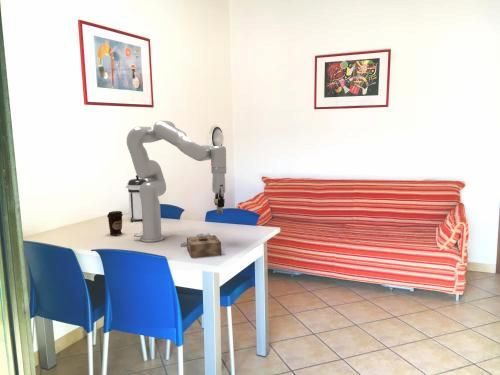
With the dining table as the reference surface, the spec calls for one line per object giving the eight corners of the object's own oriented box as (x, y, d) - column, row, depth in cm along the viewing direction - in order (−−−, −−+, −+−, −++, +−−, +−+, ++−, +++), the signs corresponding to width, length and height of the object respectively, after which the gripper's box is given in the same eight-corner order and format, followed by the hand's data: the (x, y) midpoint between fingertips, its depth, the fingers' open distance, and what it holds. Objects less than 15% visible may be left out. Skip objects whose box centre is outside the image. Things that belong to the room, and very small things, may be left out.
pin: (215, 214, 204) (215, 200, 203) (213, 212, 210) (212, 198, 209) (226, 214, 206) (226, 199, 205) (223, 212, 211) (223, 197, 210)
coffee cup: (127, 233, 232) (126, 211, 231) (117, 236, 225) (115, 213, 223) (115, 232, 236) (114, 210, 235) (105, 235, 229) (103, 212, 227)
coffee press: (139, 223, 259) (137, 176, 255) (122, 220, 268) (120, 175, 264) (159, 218, 273) (157, 174, 270) (143, 216, 282) (141, 173, 278)
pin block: (191, 257, 185) (190, 244, 184) (187, 249, 198) (186, 237, 197) (221, 254, 189) (221, 242, 188) (215, 247, 202) (215, 235, 201)
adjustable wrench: (184, 248, 203) (184, 244, 203) (174, 246, 206) (173, 243, 206) (211, 236, 225) (211, 233, 225) (202, 235, 228) (202, 232, 228)
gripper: (208, 169, 212) (208, 203, 214) (215, 172, 196) (216, 209, 198) (222, 169, 214) (222, 203, 217) (230, 171, 198) (231, 208, 200)
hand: (219, 205), depth 207 cm, fingers closed on pin, 5 cm apart
